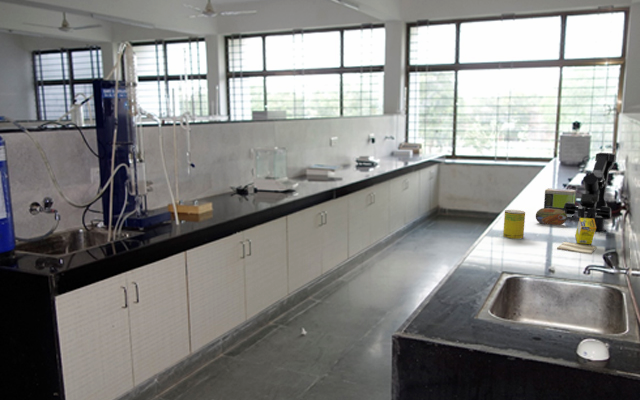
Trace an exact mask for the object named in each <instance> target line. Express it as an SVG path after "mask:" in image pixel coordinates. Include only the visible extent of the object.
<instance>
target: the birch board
mask: <svg viewBox="0 0 640 400" xmlns="http://www.w3.org/2000/svg"><path fill="white" fill-rule="evenodd" d="M556 249H557V250H561V249H562V251H567V250H568V251H569V252H575V253H580V254H581V253H582V254H586V255H591V254H592V253H593V252H594V251H595V250H596V249H597V246H596V245H592V244H591V245H584V244H577V242H576V243H575V242H568V241H564V242H562V243H561V244H560V245H559V246H557V248H556Z"/></svg>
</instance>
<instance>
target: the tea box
mask: <svg viewBox="0 0 640 400" xmlns="http://www.w3.org/2000/svg"><path fill="white" fill-rule="evenodd" d="M576 195H577V194H576V189H568V188H567V189H566V188H565V189H564V188H546V189H545V190H544V202H543V208H548V209H561V210H563V211H564V212H565V209H564V205H565V203H576ZM572 216H575V214H573V215H571V214H567V218H572Z"/></svg>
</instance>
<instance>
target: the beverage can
mask: <svg viewBox="0 0 640 400" xmlns="http://www.w3.org/2000/svg"><path fill="white" fill-rule="evenodd" d="M525 219H526V211H524V210H519V209H506V210H504V217H503V233H502V236H503V237H504V238H507V239H512V240H513V239H514V240H515V239H516V240H517V239H518V240H519V239H520V238H521V239H523V238H524V235H525V234H524V232H525V222H526V221H525ZM521 239H520V240H521Z"/></svg>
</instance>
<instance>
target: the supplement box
mask: <svg viewBox="0 0 640 400" xmlns="http://www.w3.org/2000/svg"><path fill="white" fill-rule="evenodd" d="M595 230H596V224H595V220H594V219H591V218H586V217H585V218H581V217H579V220H578V222H577V227H576V231H575V235H574V236H575V241H576V243H577V244H584V245H591V246H592V243H593V240H594V237H595V234H596V233H595V232H596V231H595Z"/></svg>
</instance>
